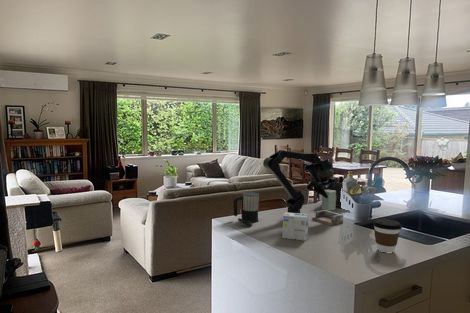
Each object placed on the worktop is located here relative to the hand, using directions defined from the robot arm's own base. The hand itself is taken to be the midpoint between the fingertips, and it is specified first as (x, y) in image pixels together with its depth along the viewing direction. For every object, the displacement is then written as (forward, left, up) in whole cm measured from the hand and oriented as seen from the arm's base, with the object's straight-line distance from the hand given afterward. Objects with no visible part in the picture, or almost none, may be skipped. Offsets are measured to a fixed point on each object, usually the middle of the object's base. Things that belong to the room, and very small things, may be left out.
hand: (330, 197), depth 176 cm
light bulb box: (-33, -8, -14) cm, 37 cm away
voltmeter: (+39, +24, -14) cm, 48 cm away
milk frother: (-37, +23, -14) cm, 46 cm away
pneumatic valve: (+23, +22, -14) cm, 35 cm away
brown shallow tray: (+1, +3, -14) cm, 14 cm away
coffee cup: (-13, -40, -14) cm, 44 cm away
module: (0, +1, -7) cm, 7 cm away
